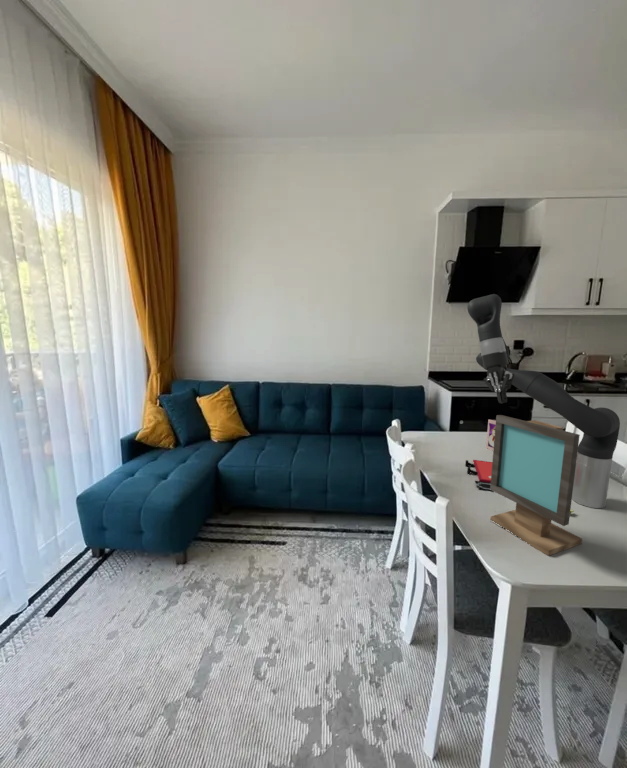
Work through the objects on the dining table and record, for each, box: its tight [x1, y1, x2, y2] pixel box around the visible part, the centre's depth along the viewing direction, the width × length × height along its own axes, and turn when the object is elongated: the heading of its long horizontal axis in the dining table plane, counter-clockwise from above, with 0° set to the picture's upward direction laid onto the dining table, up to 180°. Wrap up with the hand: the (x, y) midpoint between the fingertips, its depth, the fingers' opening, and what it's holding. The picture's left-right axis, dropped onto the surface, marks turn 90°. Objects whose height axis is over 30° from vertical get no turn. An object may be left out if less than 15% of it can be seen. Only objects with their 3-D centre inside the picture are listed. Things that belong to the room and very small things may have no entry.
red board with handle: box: [464, 459, 493, 490], centre depth 140 cm, size 30×3×15 cm
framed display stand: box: [489, 419, 583, 557], centre depth 98 cm, size 14×18×33 cm
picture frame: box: [489, 414, 581, 527], centre depth 96 cm, size 2×22×24 cm, turn 22°
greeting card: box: [485, 419, 496, 451], centre depth 167 cm, size 11×7×15 cm, turn 25°
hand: (503, 402), depth 115 cm, fingers closed
